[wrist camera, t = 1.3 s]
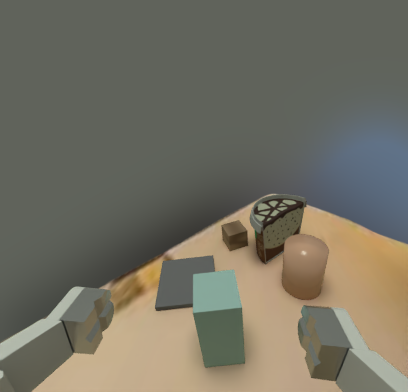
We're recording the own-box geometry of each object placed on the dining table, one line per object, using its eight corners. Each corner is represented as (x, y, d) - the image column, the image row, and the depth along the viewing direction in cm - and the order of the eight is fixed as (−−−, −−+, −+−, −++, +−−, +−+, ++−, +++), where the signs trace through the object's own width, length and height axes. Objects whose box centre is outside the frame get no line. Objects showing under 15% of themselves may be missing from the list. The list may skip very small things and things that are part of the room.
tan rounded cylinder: (310, 267, 39) (316, 232, 35) (328, 297, 34) (337, 259, 30) (276, 271, 39) (278, 236, 35) (289, 301, 34) (293, 264, 30)
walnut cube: (239, 234, 49) (238, 220, 47) (247, 245, 46) (247, 230, 44) (222, 239, 49) (221, 225, 47) (230, 251, 45) (228, 236, 43)
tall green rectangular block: (237, 322, 32) (233, 268, 27) (244, 363, 27) (242, 307, 22) (203, 326, 32) (193, 273, 27) (205, 367, 28) (192, 312, 22)
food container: (278, 226, 50) (280, 187, 46) (302, 239, 46) (307, 197, 41) (237, 250, 45) (235, 209, 40) (259, 268, 40) (260, 224, 36)
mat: (213, 258, 44) (212, 255, 43) (218, 303, 35) (217, 300, 35) (163, 264, 44) (162, 261, 44) (156, 310, 35) (155, 307, 35)
